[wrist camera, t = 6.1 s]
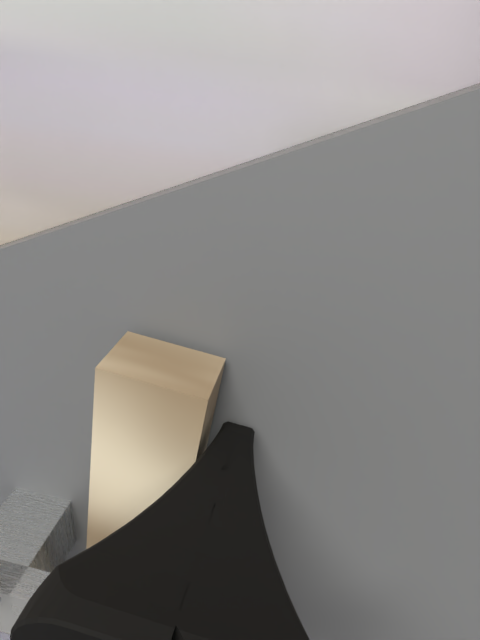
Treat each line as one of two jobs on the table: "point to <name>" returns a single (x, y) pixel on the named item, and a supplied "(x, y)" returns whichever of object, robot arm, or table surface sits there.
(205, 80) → the table surface
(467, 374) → the board
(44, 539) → the keeper
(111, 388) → the link
